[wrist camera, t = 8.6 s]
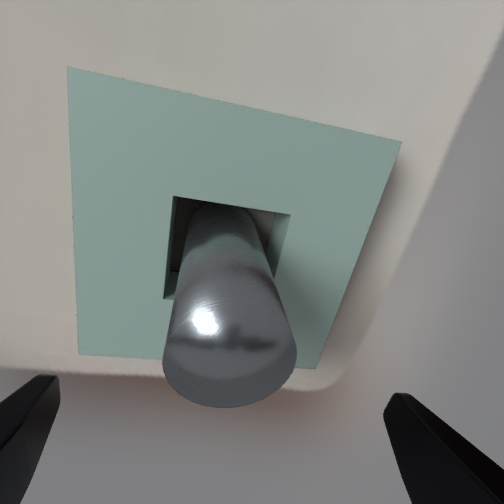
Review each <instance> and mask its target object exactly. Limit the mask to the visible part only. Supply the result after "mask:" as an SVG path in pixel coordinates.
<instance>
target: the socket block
mask: <svg viewBox="0 0 504 504" xmlns="http://www.w3.org/2000/svg"><path fill="white" fill-rule="evenodd" d="M67 85H68V110H69V134H70V159H71V183H72V207H73V232H74V256H75V281H76V305H77V330H78V354H79V355H92V356H108V357H125V358H141V359H157V360H162V358H163V353H164V347H165V342H166V337H167V332H168V327H169V322H170V317H171V312H172V307H173V302H174V297H175V292H176V287H177V282H178V277H179V272H173V271H170V265H171V255H172V246H173V236H174V226H175V217H176V207H177V197H184V198H191V199H197V200H203V201H209V202H215V203H222V204H228V205H234V206H240V207H246V208H253V209H259V210H265V211H271V212H276V213H275V217H274V221H273V225H272V229H271V233H270V237H269V241H268V246H267V250H266V254H265V256H266V259H267V261H268V264H269V267H270V270H271V273H272V276H273V279H274V282H275V285H276V287H277V290H278V293H279V296H280V299H281V302H282V305H283V308H284V311H285V314H286V316H287V319H288V322H289V325H290V328H291V331H292V334H293V337H294V340H295V343H296V347H297V359H296V363H295V367H294V368H304V369H316V366H317V363H318V361H319V358H320V356H321V353H322V350H323V348H324V345H325V343H326V340H327V337H328V335H329V332H330V329H331V327H332V324H333V322H334V319H335V316H336V314H337V311H338V309H339V306H340V303H341V301H342V298H343V295H344V293H345V290H346V288H347V285H348V282H349V280H350V277H351V274H352V272H353V269H354V267H355V264H356V261H357V259H358V256H359V254H360V251H361V248H362V246H363V243H364V240H365V238H366V235H367V233H368V230H369V227H370V225H371V222H372V220H373V217H374V214H375V212H376V209H377V206H378V204H379V201H380V199H381V196H382V193H383V191H384V188H385V186H386V183H387V180H388V178H389V175H390V172H391V170H392V167H393V165H394V162H395V159H396V157H397V154H398V152H399V149H400V146H401V144H402V142H401V141H397V140H392V139H388V138H383V137H379V136H374V135H370V134H366V133H361V132H357V131H352V130H348V129H343V128H339V127H334V126H330V125H326V124H321V123H317V122H312V121H308V120H303V119H299V118H294V117H290V116H286V115H281V114H277V113H272V112H268V111H263V110H259V109H254V108H250V107H245V106H241V105H237V104H232V103H228V102H223V101H219V100H214V99H210V98H205V97H201V96H197V95H192V94H188V93H183V92H179V91H174V90H170V89H165V88H161V87H156V86H152V85H148V84H143V83H139V82H134V81H130V80H125V79H121V78H116V77H112V76H108V75H103V74H99V73H94V72H90V71H85V70H81V69H76V68H72V67H68V66H67Z"/></svg>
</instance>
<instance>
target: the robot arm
mask: <svg viewBox="0 0 504 504" xmlns="http://www.w3.org/2000/svg"><path fill="white" fill-rule="evenodd" d="M59 405H60V387H59V378H58V376H57V375H49V374H40V375H37V376H35V377H34V378H32V379H31V380H30V381H28V382H27V383H26V384H24V385H23V386H22V387H20V388H19V389H18V390H16V391H15V392H14V393H12V394H11V395H10V396H8V397H7V398H6V399H5V400H3V401H2V402H0V504H20V503H21V501H22V499H23V497H24V494H25V492H26V490H27V488H28V486H29V484H30V481H31V479H32V477H33V474H34V472H35V469H36V467H37V464H38V462H39V459H40V456H41V454H42V451H43V448H44V446H45V443H46V440H47V438H48V435H49V433H50V430H51V427H52V424H53V422H54V419H55V417H56V414H57V411H58V409H59ZM383 417H384V422H385V425H386V429H387V432H388V435H389V438H390V442H391V445H392V448H393V451H394V455H395V457H396V461H397V464H398V467H399V470H400V473H401V476H402V479H403V482H404V484H405V487H406V490H407V492H408V494H409V497H410V500H411V502H412V504H504V469H502V468H501V467H500V466H499V465H497V464H496V463H495V462H494V461H492V460H491V459H490V458H489V457H487V456H486V455H485V454H484V453H482V452H481V451H480V450H479V449H477V448H476V447H475V446H474V445H472V444H471V443H470V442H469V441H467V440H466V439H465V438H464V437H462V436H461V435H460V434H459V433H458V432H456V431H455V430H454V429H452V428H451V427H450V426H449V425H448V424H446V423H445V422H444V421H443V420H441V419H440V418H439V417H438V416H436V415H435V414H434V413H433V412H431V411H430V410H429V409H428V408H426V407H425V406H424V405H423V404H421V403H420V402H419V401H418V400H416V399H415V398H414V397H413V396H411V395H410V394H407V393H395V394H393V395H392V397H391V399H390V401H389V402H388V404H387V406H386V408H385V410H384V413H383Z"/></svg>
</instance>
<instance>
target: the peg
mask: <svg viewBox="0 0 504 504" xmlns="http://www.w3.org/2000/svg"><path fill="white" fill-rule="evenodd" d="M296 359H297V347H296V343H295V340H294V337H293V334H292V331H291V328H290V325H289V322H288V319H287V316H286V314H285V311H284V308H283V305H282V302H281V299H280V296H279V293H278V290H277V287H276V285H275V282H274V279H273V276H272V273H271V270H270V267H269V264H268V261H267V259H266V256H265V253H264V250H263V247H262V244H261V241H260V238H259V235H258V232H257V230H256V227H255V224H254V221H253V219H252V217H251V216H250V214H249V213H248V212H247V211H246V210H245V209H244V208H242V207H240V206H234V205H228V204H222V203H215V202H213V203H209V204H207V205H205V206H203V207H202V208H200V209H199V210H198V211H197V212H196V213H195V214H194V215H193V217H192V218H191V220H190V223H189V226H188V231H187V236H186V241H185V246H184V251H183V256H182V261H181V267H180V272H179V277H178V282H177V287H176V292H175V297H174V302H173V307H172V312H171V317H170V322H169V327H168V332H167V337H166V342H165V347H164V353H163V358H162V365H163V371H164V374H165V377H166V379H167V380H168V382H169V384H170V385H171V386H172V388H173V389H174V390H176V392H178V393H179V394H180V395H182V396H183V397H184V398H186V399H188V400H190V401H192V402H195V403H197V404H200V405H204V406H209V407H216V408H232V407H240V406H245V405H248V404H252V403H255V402H257V401H260V400H262V399H264V398H266V397H268V396H269V395H270V394H273V393H274V392H275V391H277V390H278V389H279V388H280V387H281V386H282V385H283V384H284V383H285V382H286V381H287V379H288V378H289V377H290V375H291V373H292V371H293V369H294V367H295V363H296Z"/></svg>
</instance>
